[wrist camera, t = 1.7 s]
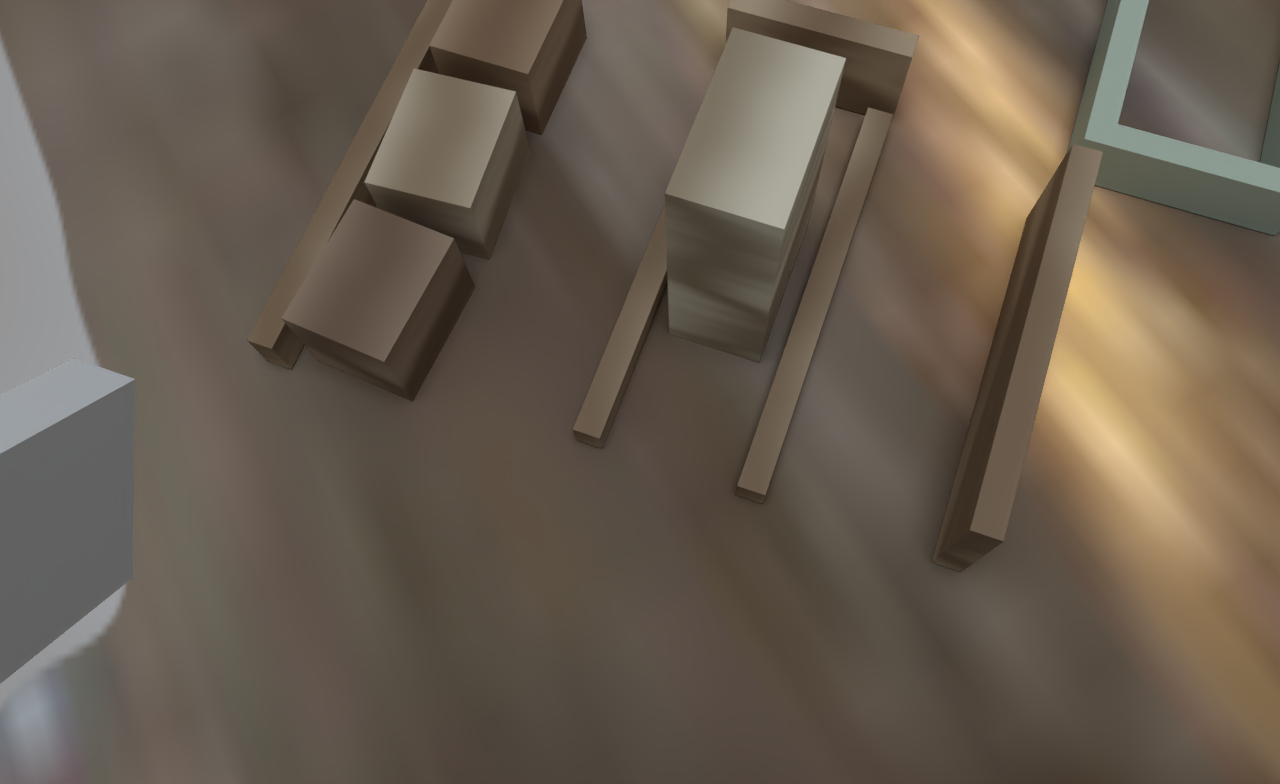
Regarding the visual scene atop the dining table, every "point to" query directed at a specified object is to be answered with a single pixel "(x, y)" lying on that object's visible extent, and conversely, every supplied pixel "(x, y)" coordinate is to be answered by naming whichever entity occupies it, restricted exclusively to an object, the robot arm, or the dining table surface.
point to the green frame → (1170, 142)
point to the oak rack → (875, 93)
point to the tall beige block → (746, 190)
